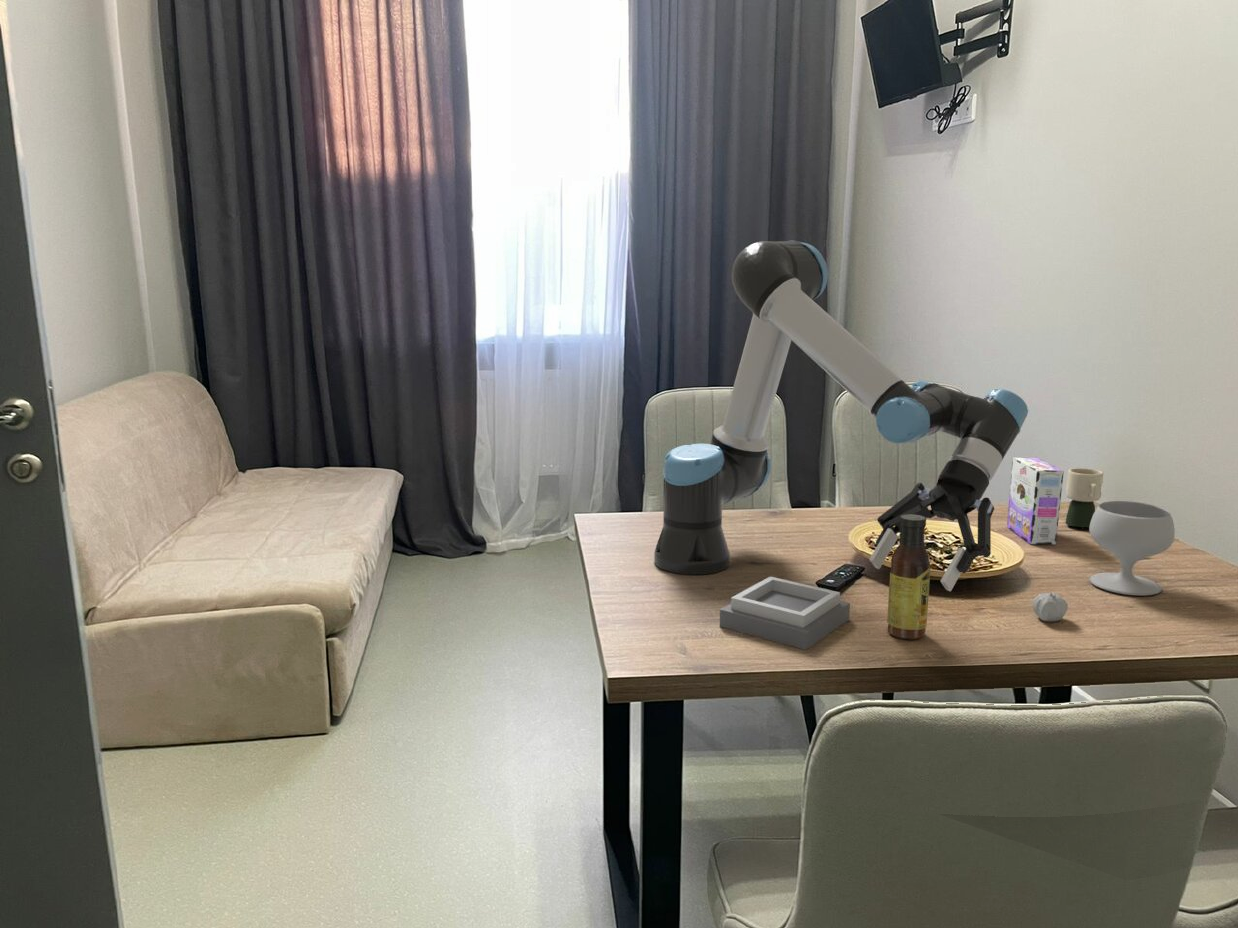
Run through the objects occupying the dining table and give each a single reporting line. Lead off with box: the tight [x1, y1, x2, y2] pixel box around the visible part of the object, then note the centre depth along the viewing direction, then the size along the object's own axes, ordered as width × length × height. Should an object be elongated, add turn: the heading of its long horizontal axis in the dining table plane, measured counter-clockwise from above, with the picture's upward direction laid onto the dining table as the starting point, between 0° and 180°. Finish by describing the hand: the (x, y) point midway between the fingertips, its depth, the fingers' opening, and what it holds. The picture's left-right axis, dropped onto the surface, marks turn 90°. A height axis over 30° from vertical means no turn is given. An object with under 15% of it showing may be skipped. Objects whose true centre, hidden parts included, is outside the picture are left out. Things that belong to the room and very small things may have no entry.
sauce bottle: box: [886, 514, 931, 641], centre depth 157 cm, size 7×6×20 cm
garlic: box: [1032, 591, 1069, 622], centre depth 165 cm, size 6×5×5 cm
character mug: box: [1064, 467, 1104, 529], centre depth 218 cm, size 11×7×13 cm, turn 178°
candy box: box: [1006, 457, 1065, 546], centre depth 211 cm, size 14×6×16 cm, turn 179°
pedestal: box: [719, 576, 851, 651], centre depth 163 cm, size 16×16×5 cm
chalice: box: [1088, 500, 1176, 597], centre depth 179 cm, size 14×14×15 cm
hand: (908, 575), depth 156 cm, fingers open, 13 cm apart
